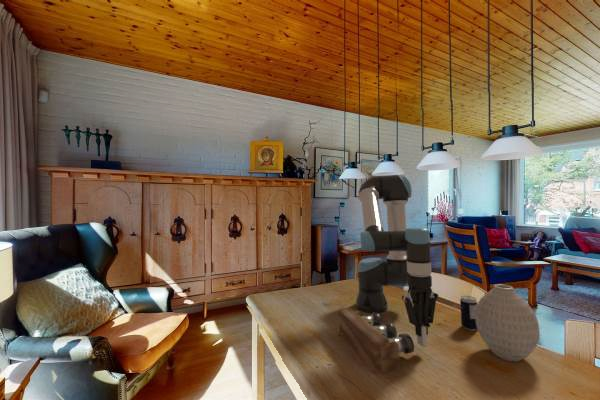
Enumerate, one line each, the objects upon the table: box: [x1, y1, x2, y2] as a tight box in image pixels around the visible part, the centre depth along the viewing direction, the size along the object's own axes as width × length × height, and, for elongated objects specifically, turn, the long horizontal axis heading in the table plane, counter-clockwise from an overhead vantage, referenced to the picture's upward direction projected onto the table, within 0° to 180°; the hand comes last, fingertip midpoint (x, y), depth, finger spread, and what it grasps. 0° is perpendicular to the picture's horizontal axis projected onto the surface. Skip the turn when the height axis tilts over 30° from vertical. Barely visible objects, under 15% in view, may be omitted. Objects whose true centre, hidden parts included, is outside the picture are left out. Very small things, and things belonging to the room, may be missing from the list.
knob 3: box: [388, 333, 415, 355], centre depth 83 cm, size 9×6×6 cm, turn 105°
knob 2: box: [373, 321, 398, 339], centre depth 92 cm, size 9×6×6 cm, turn 105°
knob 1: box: [360, 312, 383, 326], centre depth 101 cm, size 9×6×6 cm, turn 105°
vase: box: [475, 283, 540, 363], centre depth 84 cm, size 16×16×22 cm
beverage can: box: [459, 295, 478, 332], centre depth 102 cm, size 6×6×12 cm
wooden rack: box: [338, 307, 400, 375], centre depth 90 cm, size 8×27×9 cm, turn 15°
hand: (422, 344), depth 86 cm, fingers closed
